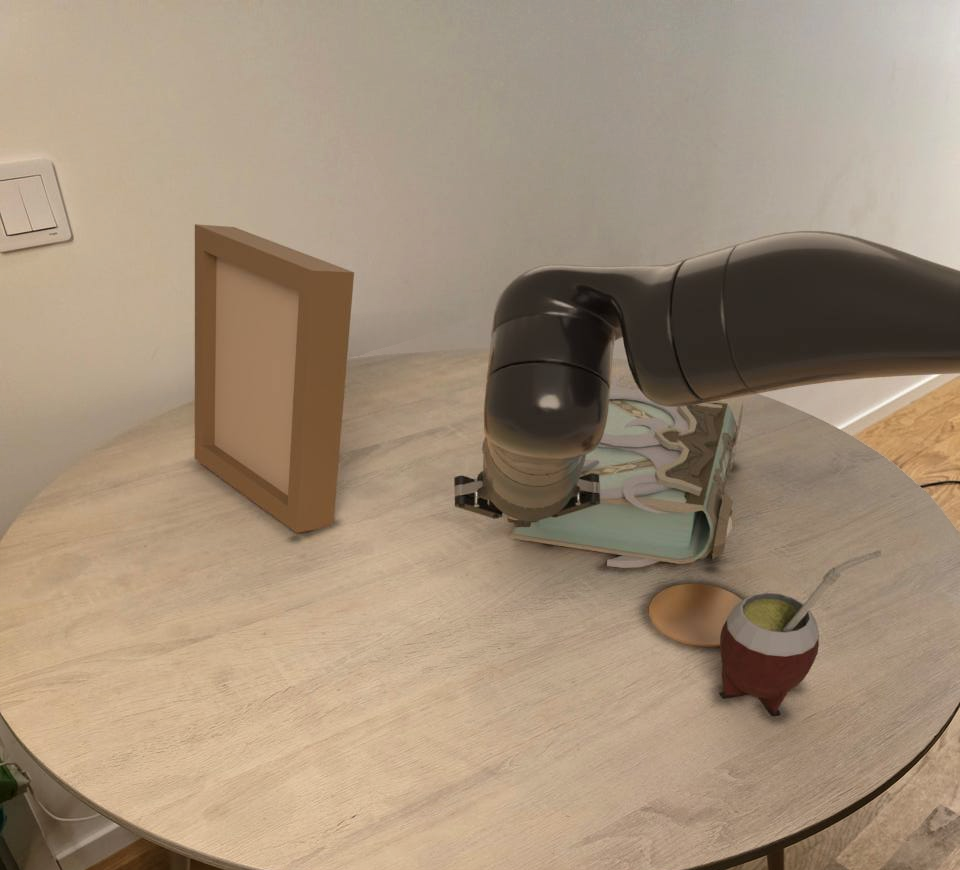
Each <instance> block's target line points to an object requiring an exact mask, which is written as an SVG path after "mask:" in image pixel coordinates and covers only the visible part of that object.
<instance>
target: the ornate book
mask: <svg viewBox="0 0 960 870" xmlns="http://www.w3.org/2000/svg"><path fill="white" fill-rule="evenodd" d="M624 378H625V376H624V375H622V376H615V377H614V378H611V384H610V397H609V408H608V416H607V422H606V426H605V430H604V434H603V437H602V440H601V442H600V444H599V445H598V447H597V448H596V449H595V450H593V451H592V452H590V453H588V454H586V458H585V462H584V466H583V469H582V472H581V474H580V477H582V476H584V475H587V474H590V473H595V474H599V482H600V504H598V505H595V506H591V507H588V508H585V509H582V510H578V511H575V512H572V513H569V514H565V515H562V516H559V517H556V518H553V517H549V518H546V519H543V520H538V521H537V522H531V526H530V527H523V526H522V527H515V526H514V527H513V528H512V530H511V532H510V533H509V535H508V537H509V539H513V540H520V541H527V542H534V543H540V544H546V545H554V546H558V547H559V546H560V547H567V548H573V549H579V550H585V551H592V552H597V553H605V554H612V555H618V556H616V557H613V558H609V559H607V560H606V567H612V568H622V569H629V568H630V569H631V568H642V567H647V566H650V565H653V564H656V563H660V562H664V563H671V564H677V565H684V564H690V563H694V562H695V561H697V560H699V559H700V560H703V559H706V558H707V557H708V556H709V554H710V553H711V552H712V554H711V560H712V561H713V560H715V559H716V558H718V557H719V556H721V555H723V554H724V553H725V546H726V540H727V538H728V537H729V536H730V534H731V532H732V530H733V522H732V521H733V520H732V515H733V509H732V507H733V500H732V498H731V497H730V495H729V494H728V493H727V492H726V490H725V489H726V484H727V479H728V478H729V474H730V472H731V470H732V467H733V464H734V462H735V458H736V453H737V446H738V443H739V441H740V439H741V432H740V430H741V426H742V425H741V423H742V418H743V410H744V408H743V407H744V401H742V403H741V407H740V412H739V416H738V422H736V419H735V416H734V415H735V414H734V412H733V410H732V408H731V407H730V406H729V405H728V403H727V402H725V401H723V400H717V401H710V402H706V403H701V404H695V405H689V406H680V407H666V406H661V405H658V404H655V403H654V402H652V401H650V400H649V399H648V398H647V397H645V395H644V394H643V393H642V392H641V391H640V389H634V388H627V387H621V386H619V385H618V382H620V381H622V380H623V379H624Z"/></svg>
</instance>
